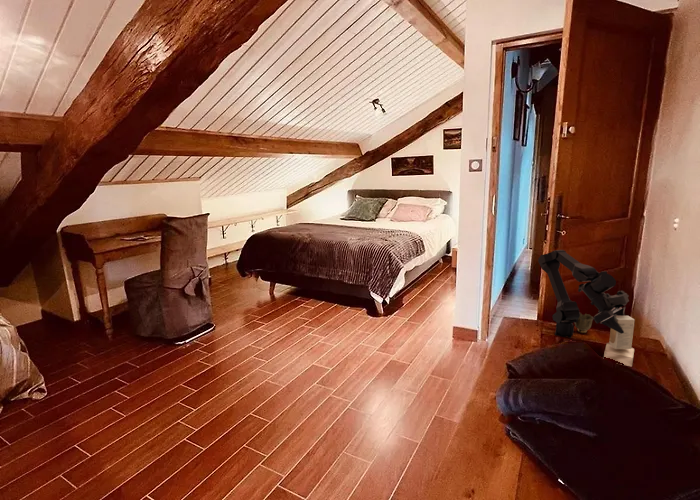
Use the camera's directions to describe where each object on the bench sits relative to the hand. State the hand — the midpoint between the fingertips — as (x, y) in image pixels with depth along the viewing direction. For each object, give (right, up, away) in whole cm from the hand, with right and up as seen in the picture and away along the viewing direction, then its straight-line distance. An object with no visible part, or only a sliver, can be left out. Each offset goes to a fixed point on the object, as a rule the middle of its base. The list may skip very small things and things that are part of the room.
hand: (626, 330), depth 149 cm
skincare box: (-1, -7, +3) cm, 8 cm away
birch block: (0, -12, +4) cm, 13 cm away
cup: (0, -7, +28) cm, 29 cm away
